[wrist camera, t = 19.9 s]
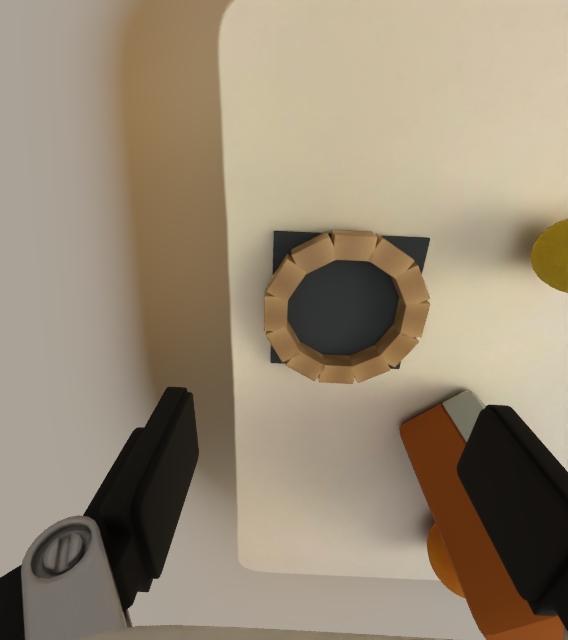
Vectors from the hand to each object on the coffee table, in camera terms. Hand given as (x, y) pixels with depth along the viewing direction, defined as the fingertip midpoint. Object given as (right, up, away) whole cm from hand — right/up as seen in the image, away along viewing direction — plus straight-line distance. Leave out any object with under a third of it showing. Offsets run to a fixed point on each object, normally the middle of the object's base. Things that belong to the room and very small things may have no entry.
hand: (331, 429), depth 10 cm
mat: (+4, +5, +19) cm, 20 cm away
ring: (+4, +5, +19) cm, 20 cm away
